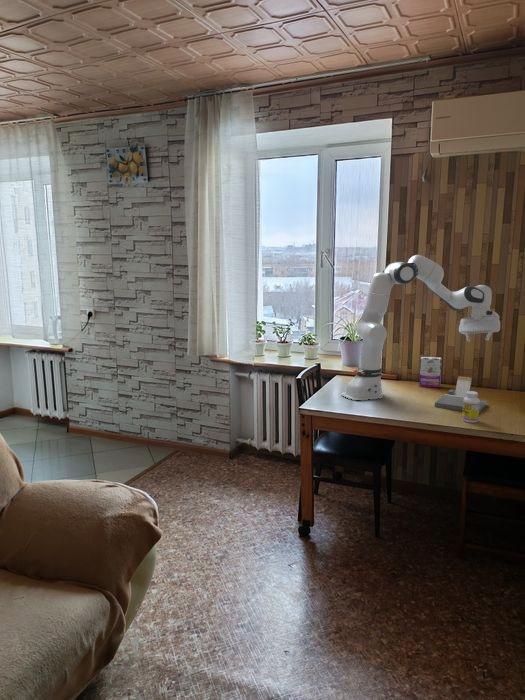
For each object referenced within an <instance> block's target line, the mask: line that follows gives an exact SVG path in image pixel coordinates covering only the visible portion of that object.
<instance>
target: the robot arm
mask: <svg viewBox="0 0 525 700" xmlns="http://www.w3.org/2000/svg"><path fill="white" fill-rule="evenodd" d="M444 277H445V272H444V268H443V267H442V266H441V265H440V264H439V263H437V262H435V261H433V260H432V259H430V258H428V257H426V256H424V255H420V254H415V255H412V256H411V257H410V258H409V260H408V261H407V262H404V261H394V262H391V263H389V264H388V265H386V267H385V268H384V269H383V270H382V272H381V271H380V272H377V273H375V274H374V275H373V277H372V279H371V280H370V281H371V282H370V284H369V287H368V291H367V297H366V301H365V305H364V310H363V311H362V314H361V317H360V320H359V322H358V323H357V325H356V334H358V335H357V336H358V337H359V338H361V339H362V347H361V350H360V352H359V364H358V365H359V367H358V369H356V368H353V369H352V373H353V374H354V373H355V376H354V377H353V378H352V379H351V380H350V381H349V382H348V383H347V384H346V385H345V391H343V392H341V395H342V396H341V395H340V396H341V397H343V396H344V397H343V398H345V397H346V398H345V399H347V398H348V400H351V399H352V401H355V400H361V401H369V400H368V399H370V400H377V399H378V398H379V399H383V398H384V392H383V387H382V379H381V378H382V375H383V374H382V373H383V372H382V370H383V369H382V355H383V354H382V352H383V348H384V345H385V341H386V339H387V337H388V331H387V328H385V326H384V325H383V324H382V320H383V318H384V316H385V314H386V313H387V311H388V305H389V302H390V295H391V291H392V289H393V287H394V285H407V284H410V283H411V282H413V280H414V279H415V278H417V279H419V280H420V281H422V282H423V283H425V285H426V287H427V288H428V290H430V291H431V292H432V293H433V294H434V295H435V296H437V297H438V298H439V299H440V300H442V301H443V302H444V303H445V304H446V306H448V308H449V309H451V310H452V311H454V312H459V311H462V310H464V309H465V308H468V307H472V308H471V314H470V315H471V316H470V315H469V316H464V317H462V318H461V319H460V322H459V323H460V324H459V327H458V332H459V333H460V334H462V335H465V336H466V342H471V341H472V338H471V337H470V335H471V334H487V335H485V336H484V340H485V341H490V338H491V336H492V335H493V333H498V332H500V330H501V319H500V315H499V314H498V313H497V312H496V311H493V310H491V305H492V300H493V299H492V296H493V295H492V292H493V291H492V289H491V287H490V286H489V285H485V284H478V285H476V286H473V285H468V286H465V287H463V288H461V289H459V290H457V291H452V290H450V289H448V288H447V287H446V286H445V285H444V284H442V282H443V279H444ZM379 399H378V400H379Z"/></svg>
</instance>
